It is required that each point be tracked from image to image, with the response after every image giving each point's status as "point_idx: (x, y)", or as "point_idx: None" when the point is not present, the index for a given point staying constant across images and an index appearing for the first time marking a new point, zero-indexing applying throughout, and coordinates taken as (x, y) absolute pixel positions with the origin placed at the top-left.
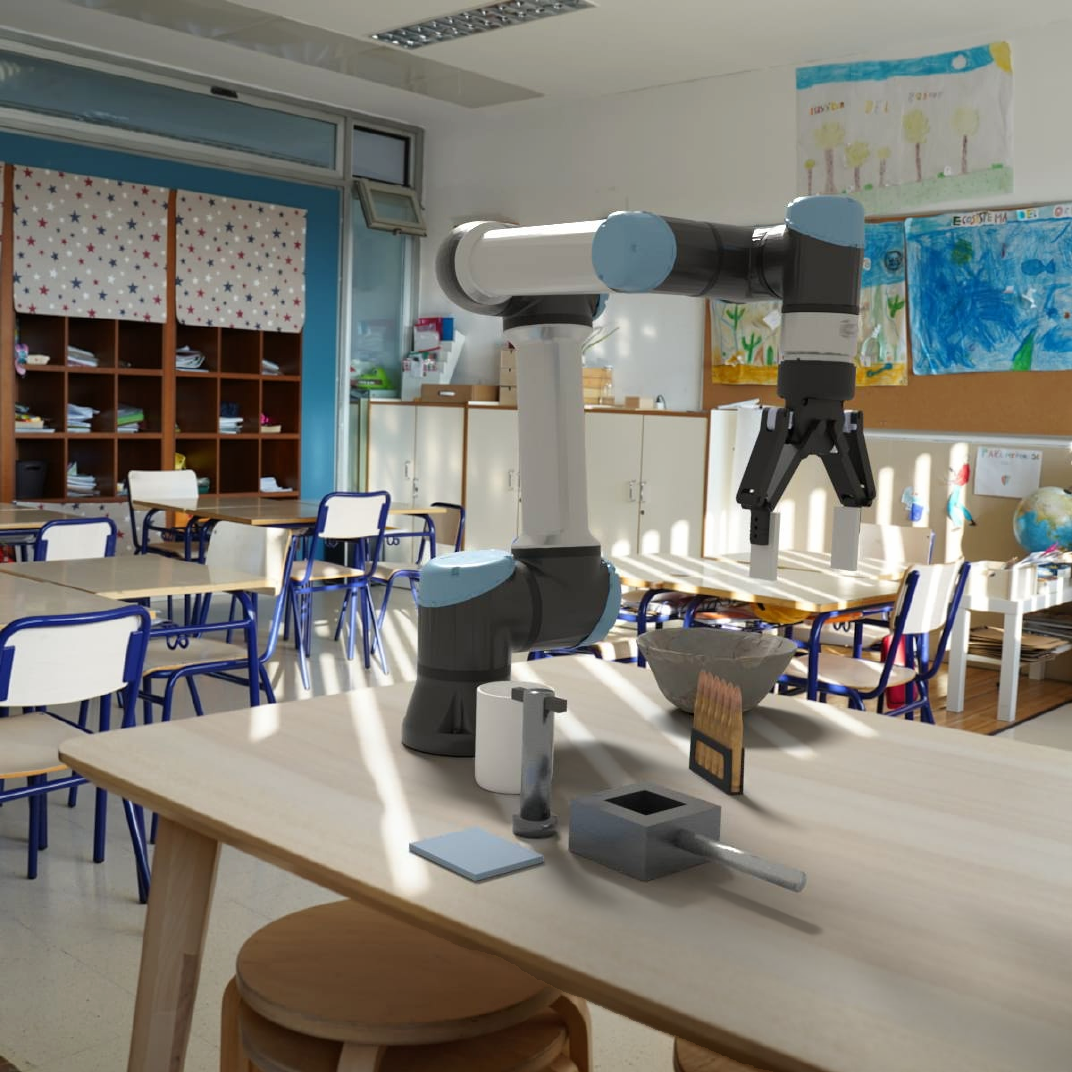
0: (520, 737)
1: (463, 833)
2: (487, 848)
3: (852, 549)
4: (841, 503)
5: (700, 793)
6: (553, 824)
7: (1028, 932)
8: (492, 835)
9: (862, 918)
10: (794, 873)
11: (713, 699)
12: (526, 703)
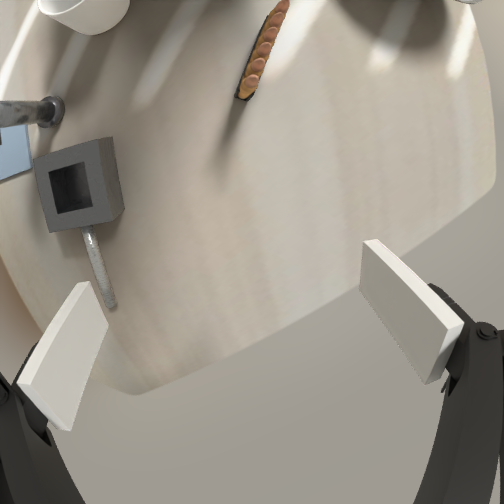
0: (66, 24)
1: None
2: (12, 144)
3: (378, 313)
4: (469, 331)
5: (215, 81)
6: (52, 125)
7: (208, 353)
8: None
9: (144, 311)
10: (107, 306)
11: (263, 37)
12: None
